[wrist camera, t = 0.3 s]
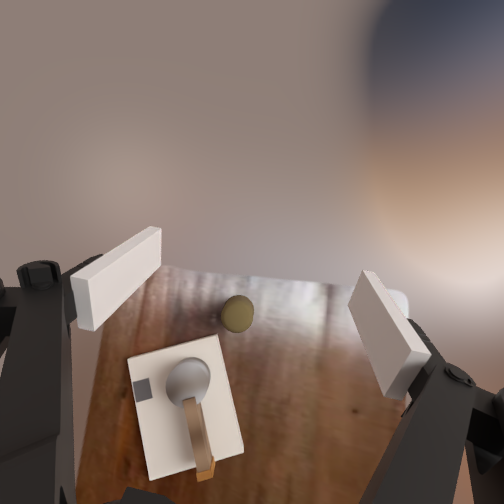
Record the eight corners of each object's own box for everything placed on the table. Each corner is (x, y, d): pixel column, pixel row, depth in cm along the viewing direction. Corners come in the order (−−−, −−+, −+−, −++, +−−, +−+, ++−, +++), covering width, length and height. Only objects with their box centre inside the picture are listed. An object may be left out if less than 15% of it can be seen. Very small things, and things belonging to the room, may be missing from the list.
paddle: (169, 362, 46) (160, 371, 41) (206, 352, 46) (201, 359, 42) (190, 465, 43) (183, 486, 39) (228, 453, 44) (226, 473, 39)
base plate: (243, 447, 46) (243, 452, 44) (152, 474, 45) (149, 481, 43) (217, 333, 48) (216, 335, 47) (131, 357, 48) (127, 359, 46)
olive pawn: (220, 321, 49) (212, 331, 38) (228, 291, 50) (223, 293, 39) (249, 329, 49) (250, 342, 38) (257, 299, 50) (260, 303, 39)
